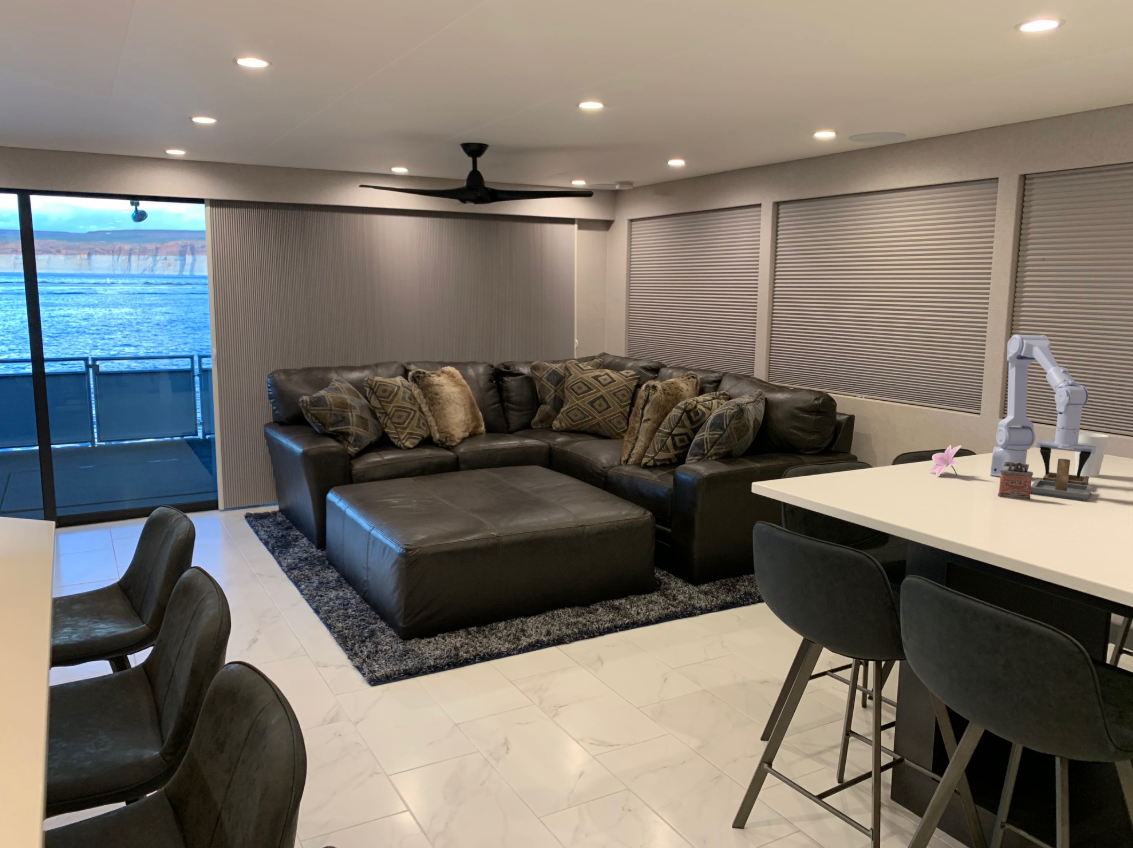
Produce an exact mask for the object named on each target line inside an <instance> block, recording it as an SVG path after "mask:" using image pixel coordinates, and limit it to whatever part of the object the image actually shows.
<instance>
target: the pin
mask: <svg viewBox="0 0 1133 848" xmlns="http://www.w3.org/2000/svg"><path fill="white" fill-rule="evenodd" d="M1070 466H1071V460H1070V459H1067V458H1058V459H1057V465H1056V473H1057V474H1056V483H1055V490H1062V491H1067V485H1068V476H1069V475H1070Z"/></svg>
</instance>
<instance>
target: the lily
mask: <svg viewBox="0 0 1133 848" xmlns="http://www.w3.org/2000/svg"><path fill="white" fill-rule="evenodd" d="M961 448H962V445H961V444H959V445H958V446H954V447H953V448H952V444H950V445H948V447H947V448H946V449H945V450H944V452H938V453H937V452H936V453H935V454H933V455H932V457H931V459H932V460H933V461H932V462H933V463H934V464H935V465H934V466H932V468H931V469H930V470H929V474H931V473H933V472H935V476H936V478H938V477H940V474H941V473H942V472H943V470H944V469H945V468H946V467H949V466H951V468H952V469H953V471H954V473H955V475H956V476H957V475H958V473H957V472H956V469H955V468H954V466H956V464H957V462H956V460H955V458H953V457H954V456H955V454H956V453H957V452H958V451H959V450H960V449H961Z"/></svg>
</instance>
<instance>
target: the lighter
mask: <svg viewBox="0 0 1133 848" xmlns="http://www.w3.org/2000/svg"><path fill="white" fill-rule="evenodd" d="M1004 466H1007V467H1009V468H1008V469H1001V470H1000V473H1001V477H1000V476H999V477H1000V479H999V489H998V492H997V497H999V498H1005V499H1006V498H1007V499H1014V500H1026V501H1027V500H1028V501H1029V500H1031V494H1030V489H1031V486H1032V479H1033V475H1034V472H1033V471H1029V467H1030V464H1029V463H1026V464H1022V463H1021V462H1016V463H1014V462H1004ZM1011 467H1014V468H1013V470H1012V468H1011ZM1023 468H1024V470H1025V471H1024V470H1023Z"/></svg>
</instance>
